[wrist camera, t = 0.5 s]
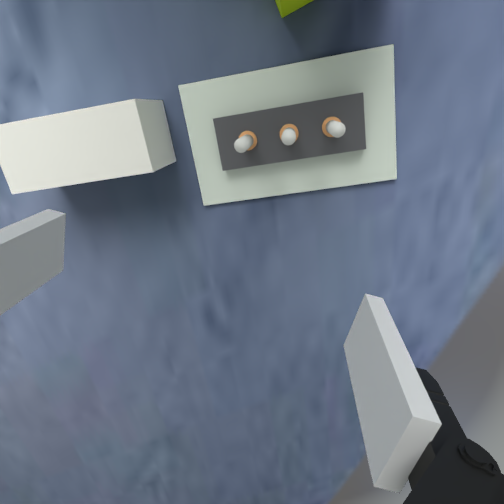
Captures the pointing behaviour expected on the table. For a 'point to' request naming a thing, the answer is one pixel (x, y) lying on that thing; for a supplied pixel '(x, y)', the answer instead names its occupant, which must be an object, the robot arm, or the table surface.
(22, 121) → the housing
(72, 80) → the table surface
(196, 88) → the plate
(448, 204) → the table surface
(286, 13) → the puzzle toy
